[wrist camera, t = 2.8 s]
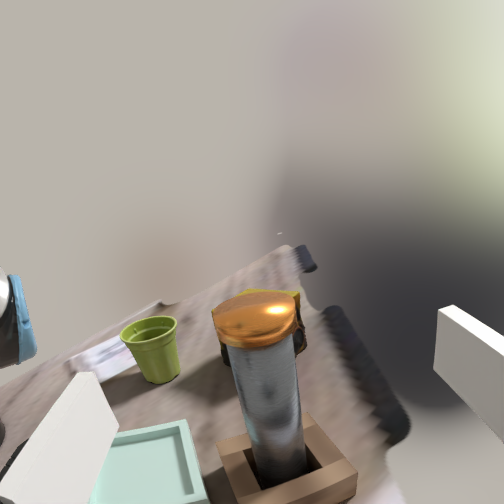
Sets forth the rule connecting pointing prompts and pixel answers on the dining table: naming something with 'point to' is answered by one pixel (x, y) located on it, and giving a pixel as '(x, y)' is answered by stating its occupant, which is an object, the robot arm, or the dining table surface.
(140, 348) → the plant pot
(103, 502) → the tray
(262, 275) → the dining table surface
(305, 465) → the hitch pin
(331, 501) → the socket collar
